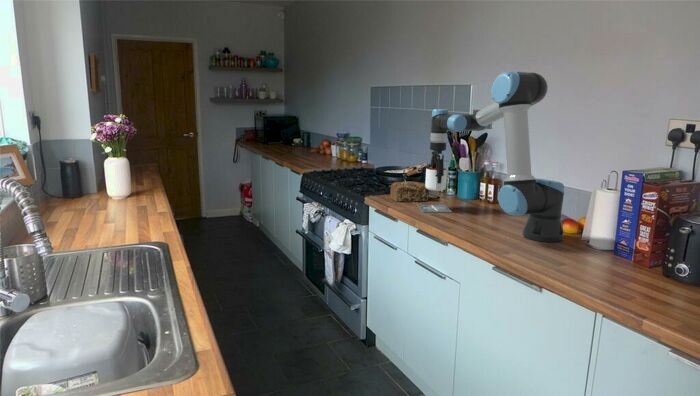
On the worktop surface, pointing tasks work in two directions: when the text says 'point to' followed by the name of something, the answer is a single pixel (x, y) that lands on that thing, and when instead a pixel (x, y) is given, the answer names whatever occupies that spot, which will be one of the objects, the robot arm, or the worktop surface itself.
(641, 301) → the worktop surface
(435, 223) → the worktop surface
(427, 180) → the cup
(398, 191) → the bread
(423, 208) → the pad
